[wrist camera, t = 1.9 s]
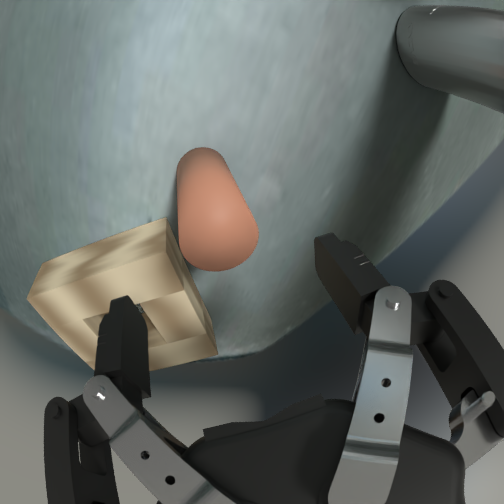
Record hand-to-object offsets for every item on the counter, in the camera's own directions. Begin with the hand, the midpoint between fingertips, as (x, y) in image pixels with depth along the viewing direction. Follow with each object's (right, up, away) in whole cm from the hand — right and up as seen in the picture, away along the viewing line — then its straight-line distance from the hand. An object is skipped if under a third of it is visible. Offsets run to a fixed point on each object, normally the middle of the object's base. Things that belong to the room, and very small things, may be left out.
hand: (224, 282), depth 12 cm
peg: (-3, +8, +10) cm, 13 cm away
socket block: (-12, -3, +16) cm, 20 cm away
